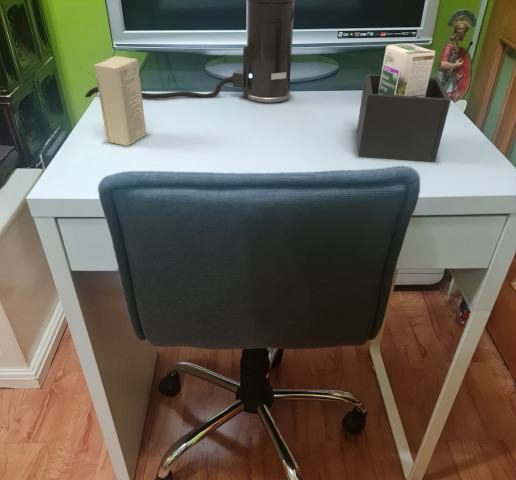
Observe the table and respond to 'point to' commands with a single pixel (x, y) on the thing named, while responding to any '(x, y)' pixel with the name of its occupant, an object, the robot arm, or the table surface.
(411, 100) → the waste bin
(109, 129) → the cosmetic box
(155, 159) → the table surface
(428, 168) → the table surface
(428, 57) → the syrup box
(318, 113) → the table surface
